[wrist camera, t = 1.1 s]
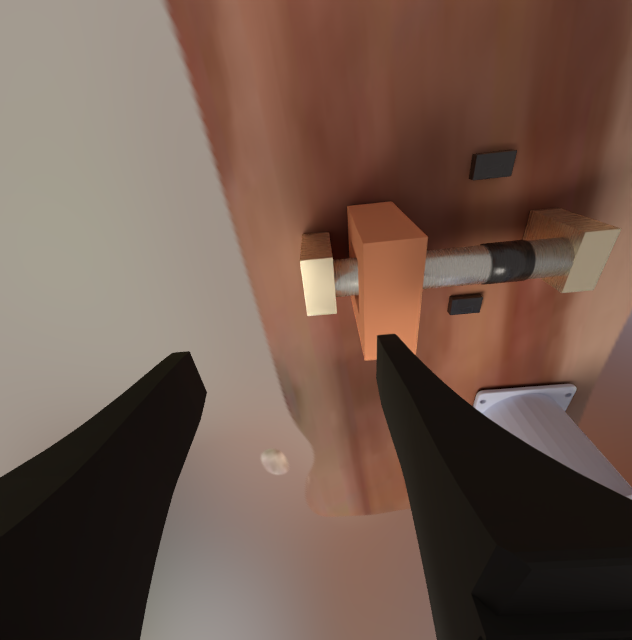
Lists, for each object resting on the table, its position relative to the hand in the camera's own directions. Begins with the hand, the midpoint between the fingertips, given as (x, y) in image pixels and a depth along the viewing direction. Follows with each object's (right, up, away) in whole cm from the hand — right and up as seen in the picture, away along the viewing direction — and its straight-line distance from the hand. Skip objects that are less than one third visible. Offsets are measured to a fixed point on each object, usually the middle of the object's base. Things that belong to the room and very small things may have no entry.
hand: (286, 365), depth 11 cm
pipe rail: (+8, +6, +8) cm, 13 cm away
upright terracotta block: (+4, +6, +8) cm, 11 cm away
